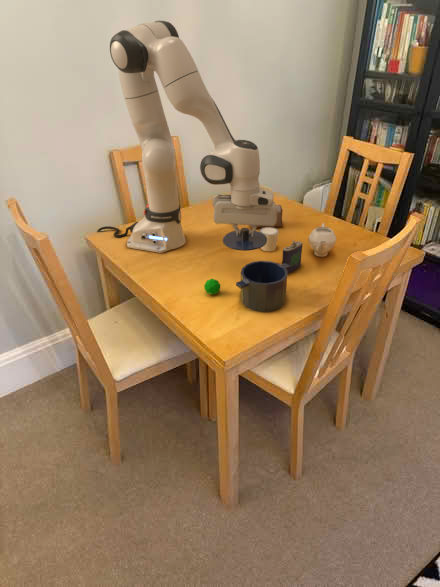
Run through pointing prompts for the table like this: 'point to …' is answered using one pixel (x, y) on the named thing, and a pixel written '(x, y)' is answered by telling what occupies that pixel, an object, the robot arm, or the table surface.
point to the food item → (279, 218)
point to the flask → (293, 256)
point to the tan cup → (270, 238)
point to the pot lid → (244, 240)
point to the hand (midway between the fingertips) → (244, 236)
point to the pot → (263, 285)
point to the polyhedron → (212, 286)
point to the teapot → (322, 240)
